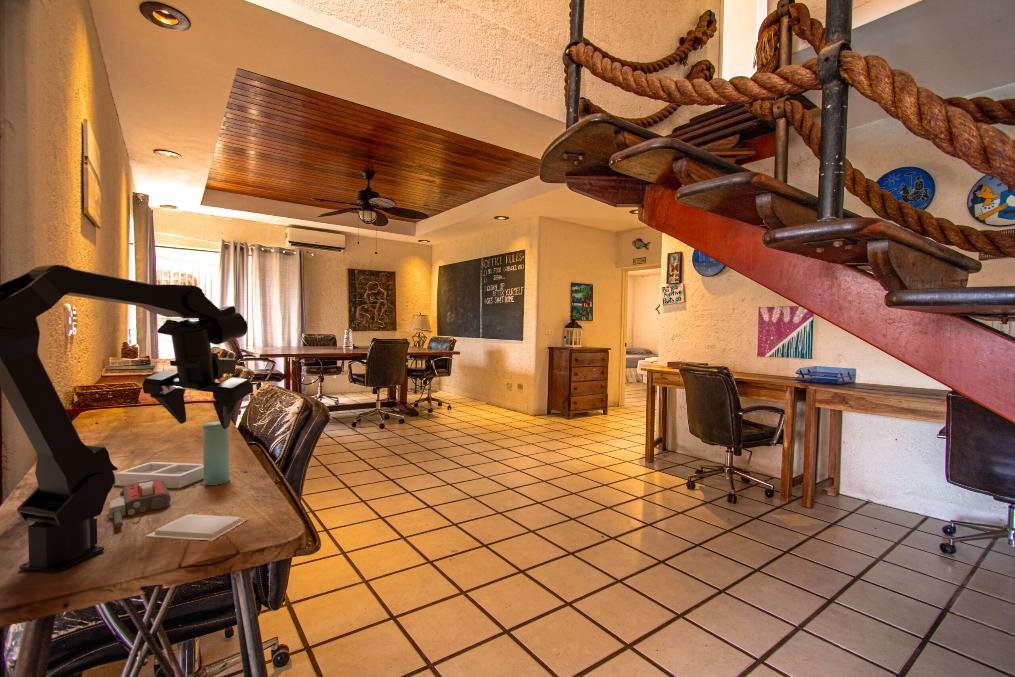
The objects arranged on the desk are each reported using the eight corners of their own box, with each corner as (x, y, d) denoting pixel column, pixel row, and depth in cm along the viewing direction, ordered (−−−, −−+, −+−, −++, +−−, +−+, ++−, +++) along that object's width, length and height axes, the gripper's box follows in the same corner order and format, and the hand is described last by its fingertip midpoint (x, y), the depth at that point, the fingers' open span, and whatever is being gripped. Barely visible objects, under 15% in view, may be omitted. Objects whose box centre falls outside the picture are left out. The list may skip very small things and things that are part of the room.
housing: (178, 488, 94) (178, 476, 94) (113, 485, 96) (113, 473, 96) (212, 474, 103) (212, 463, 103) (151, 472, 105) (151, 461, 105)
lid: (248, 523, 78) (248, 515, 78) (212, 545, 70) (212, 536, 70) (187, 519, 80) (187, 512, 80) (145, 540, 72) (145, 532, 72)
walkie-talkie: (107, 501, 88) (110, 535, 73) (107, 479, 88) (109, 509, 73) (163, 491, 94) (176, 520, 79) (163, 470, 94) (176, 495, 79)
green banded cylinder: (218, 486, 95) (217, 426, 95) (197, 485, 96) (196, 425, 95) (235, 478, 100) (234, 421, 100) (215, 478, 100) (214, 420, 100)
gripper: (266, 343, 91) (273, 412, 95) (181, 334, 92) (192, 402, 97) (227, 362, 80) (237, 438, 85) (132, 352, 82) (147, 427, 86)
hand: (204, 425), depth 88 cm, fingers open, 9 cm apart
